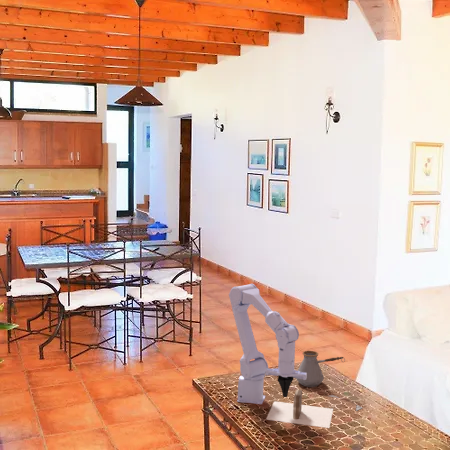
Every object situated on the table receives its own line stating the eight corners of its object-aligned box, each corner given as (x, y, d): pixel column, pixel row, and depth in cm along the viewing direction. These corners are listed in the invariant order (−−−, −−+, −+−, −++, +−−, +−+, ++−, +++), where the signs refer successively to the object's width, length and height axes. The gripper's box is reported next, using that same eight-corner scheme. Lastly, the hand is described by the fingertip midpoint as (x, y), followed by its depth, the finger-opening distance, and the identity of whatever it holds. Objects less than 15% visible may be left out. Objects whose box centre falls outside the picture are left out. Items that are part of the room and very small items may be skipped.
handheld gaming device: (331, 394, 232) (363, 406, 221) (331, 395, 232) (363, 408, 221) (316, 399, 226) (348, 413, 215) (316, 401, 226) (348, 415, 215)
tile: (293, 418, 209) (293, 396, 208) (295, 410, 216) (296, 389, 215) (298, 419, 209) (299, 397, 208) (301, 411, 216) (302, 390, 215)
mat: (266, 420, 208) (266, 419, 208) (274, 402, 224) (274, 401, 224) (329, 429, 203) (329, 427, 203) (333, 410, 218) (333, 408, 218)
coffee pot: (289, 383, 243) (290, 348, 241) (305, 376, 251) (306, 341, 250) (334, 398, 229) (336, 361, 227) (350, 390, 237) (351, 353, 235)
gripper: (264, 361, 209) (263, 397, 211) (305, 365, 206) (304, 403, 207) (268, 354, 216) (267, 390, 218) (307, 358, 212) (306, 395, 214)
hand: (285, 396), depth 213 cm, fingers closed
